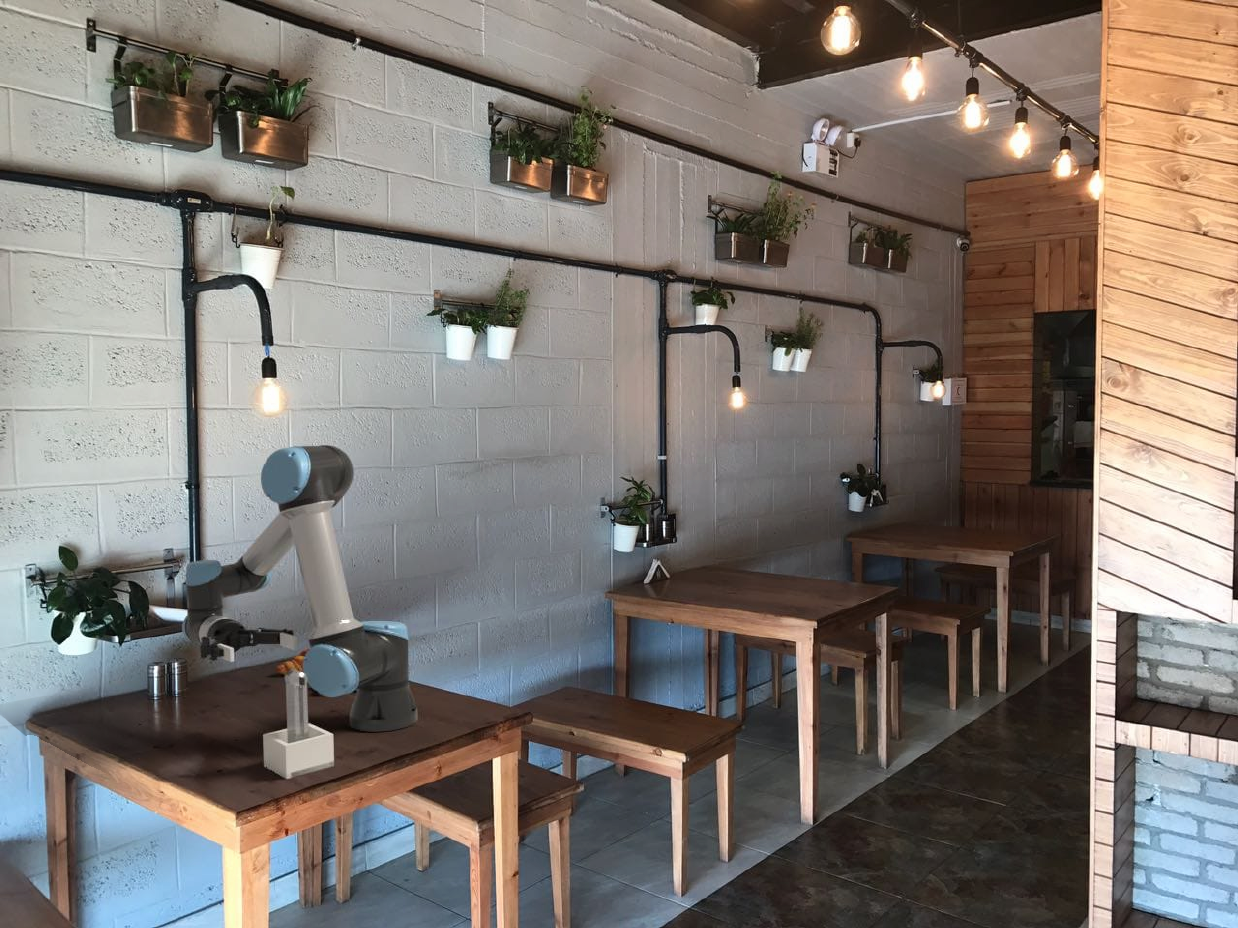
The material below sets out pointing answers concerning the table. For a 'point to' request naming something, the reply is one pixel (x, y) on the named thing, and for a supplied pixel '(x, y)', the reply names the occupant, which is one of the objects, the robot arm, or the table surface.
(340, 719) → the table surface
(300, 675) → the tongs
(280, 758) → the caddy
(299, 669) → the croissant
